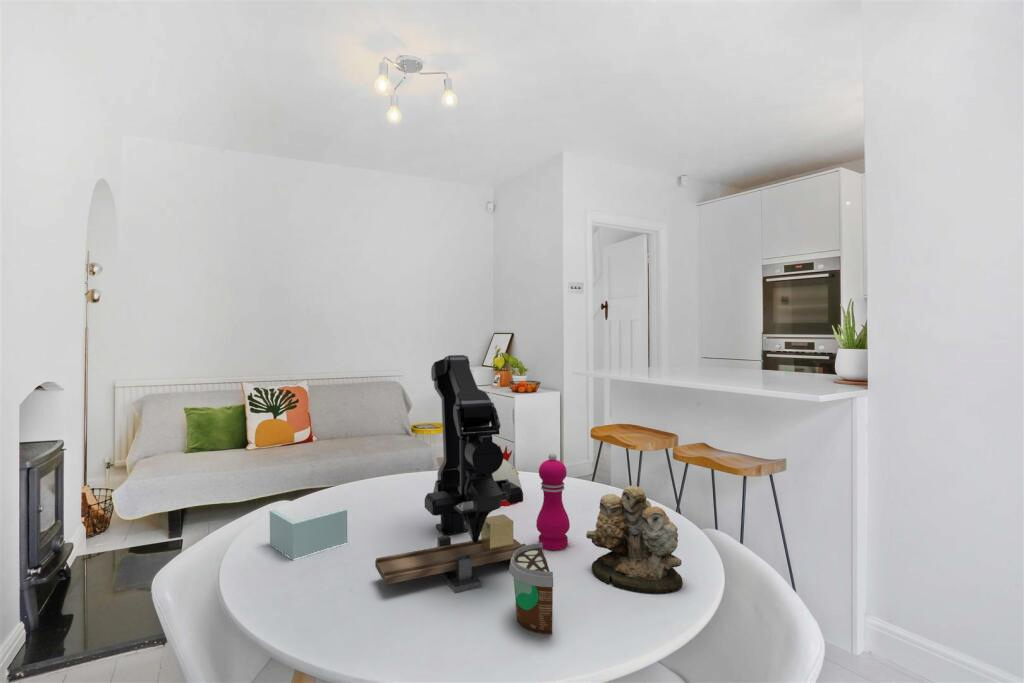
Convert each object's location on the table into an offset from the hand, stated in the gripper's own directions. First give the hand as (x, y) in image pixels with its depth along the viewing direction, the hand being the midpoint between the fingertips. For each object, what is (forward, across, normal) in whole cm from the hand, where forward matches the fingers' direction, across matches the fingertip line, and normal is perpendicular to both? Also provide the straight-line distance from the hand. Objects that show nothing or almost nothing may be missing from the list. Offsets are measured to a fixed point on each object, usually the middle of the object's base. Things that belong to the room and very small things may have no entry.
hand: (475, 541), depth 104 cm
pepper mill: (+5, +20, +3) cm, 21 cm away
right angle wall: (+6, -28, +28) cm, 40 cm away
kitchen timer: (+5, +22, +38) cm, 45 cm away
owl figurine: (+6, +25, -17) cm, 31 cm away
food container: (+6, +1, -21) cm, 22 cm away
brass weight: (+2, +5, 0) cm, 5 cm away
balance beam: (+2, -4, 0) cm, 5 cm away
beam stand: (+5, +1, 0) cm, 5 cm away
